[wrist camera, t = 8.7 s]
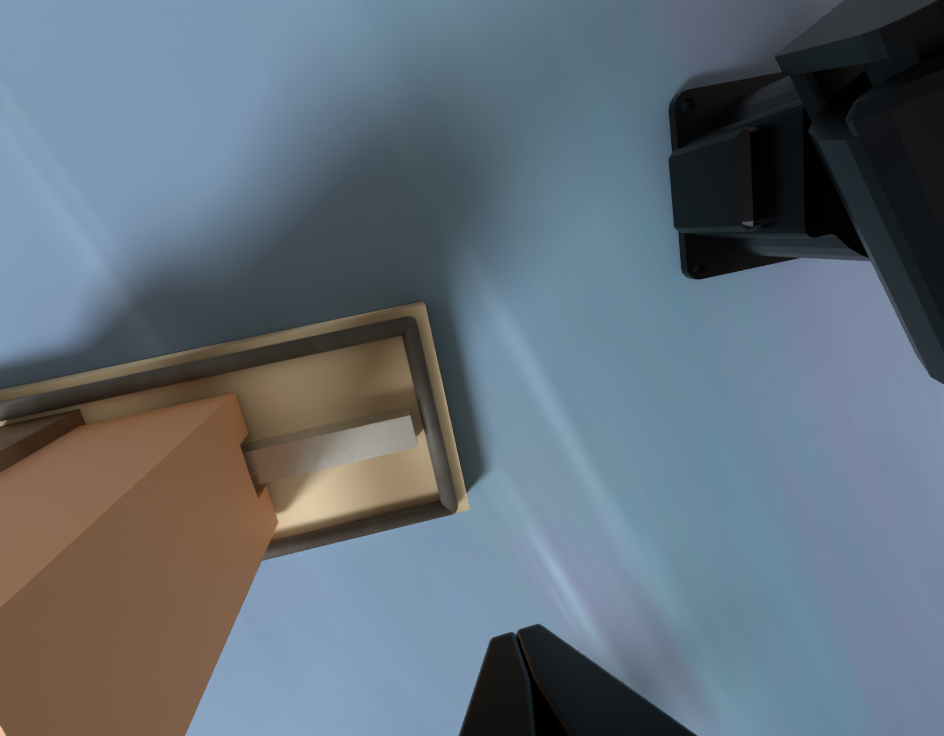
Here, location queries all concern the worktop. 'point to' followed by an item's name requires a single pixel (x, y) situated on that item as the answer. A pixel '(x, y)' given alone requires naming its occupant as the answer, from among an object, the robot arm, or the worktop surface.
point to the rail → (330, 445)
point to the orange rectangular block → (125, 570)
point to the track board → (299, 415)
